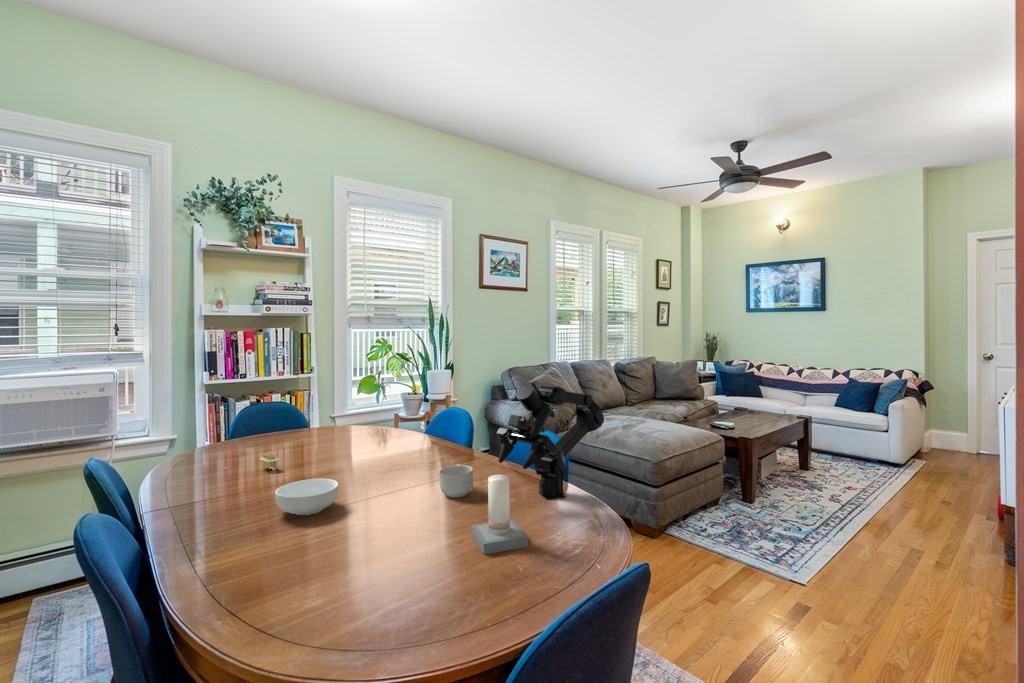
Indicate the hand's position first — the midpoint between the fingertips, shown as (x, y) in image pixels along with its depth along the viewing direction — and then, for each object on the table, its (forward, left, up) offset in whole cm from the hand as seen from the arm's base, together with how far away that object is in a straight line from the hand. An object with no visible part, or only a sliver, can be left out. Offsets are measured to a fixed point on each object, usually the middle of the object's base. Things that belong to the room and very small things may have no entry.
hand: (511, 465), depth 133 cm
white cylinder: (+9, +15, -11) cm, 21 cm away
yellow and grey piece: (+72, -71, -14) cm, 102 cm away
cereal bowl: (+55, -23, -14) cm, 61 cm away
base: (+9, +15, -14) cm, 22 cm away
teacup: (+11, -22, -14) cm, 28 cm away
